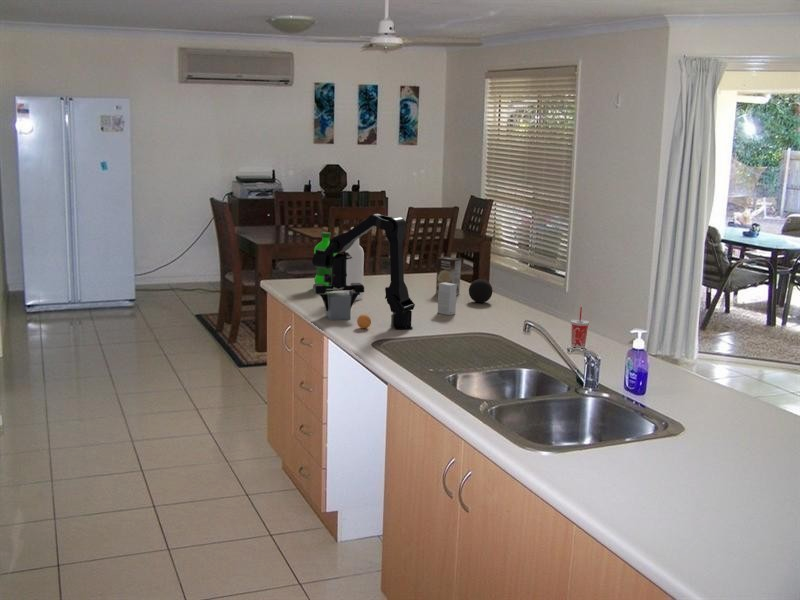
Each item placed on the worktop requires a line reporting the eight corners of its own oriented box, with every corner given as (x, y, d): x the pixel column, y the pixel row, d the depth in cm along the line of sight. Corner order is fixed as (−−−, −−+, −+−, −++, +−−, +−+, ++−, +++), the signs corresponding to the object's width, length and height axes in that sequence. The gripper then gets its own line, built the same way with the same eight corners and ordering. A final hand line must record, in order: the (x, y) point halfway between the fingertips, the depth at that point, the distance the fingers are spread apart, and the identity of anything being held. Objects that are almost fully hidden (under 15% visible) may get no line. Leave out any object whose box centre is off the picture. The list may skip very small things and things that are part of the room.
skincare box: (455, 314, 336) (457, 284, 334) (448, 315, 333) (450, 285, 331) (444, 311, 340) (445, 281, 338) (437, 312, 337) (438, 283, 335)
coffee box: (435, 293, 377) (436, 257, 373) (442, 291, 382) (443, 256, 379) (453, 296, 372) (454, 260, 369) (460, 294, 377) (461, 258, 374)
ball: (368, 326, 310) (369, 313, 309) (372, 329, 306) (372, 316, 305) (355, 327, 309) (355, 313, 308) (359, 330, 304) (359, 316, 303)
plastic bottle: (316, 286, 385) (316, 231, 380) (339, 287, 383) (340, 232, 378) (310, 290, 375) (311, 233, 370) (334, 291, 373) (335, 234, 368)
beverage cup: (565, 345, 292) (568, 305, 290) (580, 344, 295) (583, 304, 292) (575, 349, 287) (578, 309, 284) (590, 348, 289) (594, 308, 286)
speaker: (486, 299, 367) (487, 276, 365) (495, 304, 357) (497, 281, 355) (464, 300, 363) (465, 277, 361) (473, 305, 354) (474, 281, 352)
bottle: (366, 299, 359) (368, 228, 353) (350, 301, 354) (351, 229, 348) (356, 296, 365) (358, 226, 359) (340, 297, 361) (342, 227, 355)
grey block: (345, 314, 328) (345, 292, 326) (350, 319, 321) (350, 296, 319) (325, 315, 326) (326, 293, 324) (330, 320, 319) (330, 296, 317)
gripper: (357, 266, 330) (356, 305, 333) (310, 266, 324) (309, 307, 328) (365, 270, 320) (364, 311, 323) (316, 271, 314) (315, 313, 317)
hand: (338, 310), depth 323 cm, fingers open, 8 cm apart
